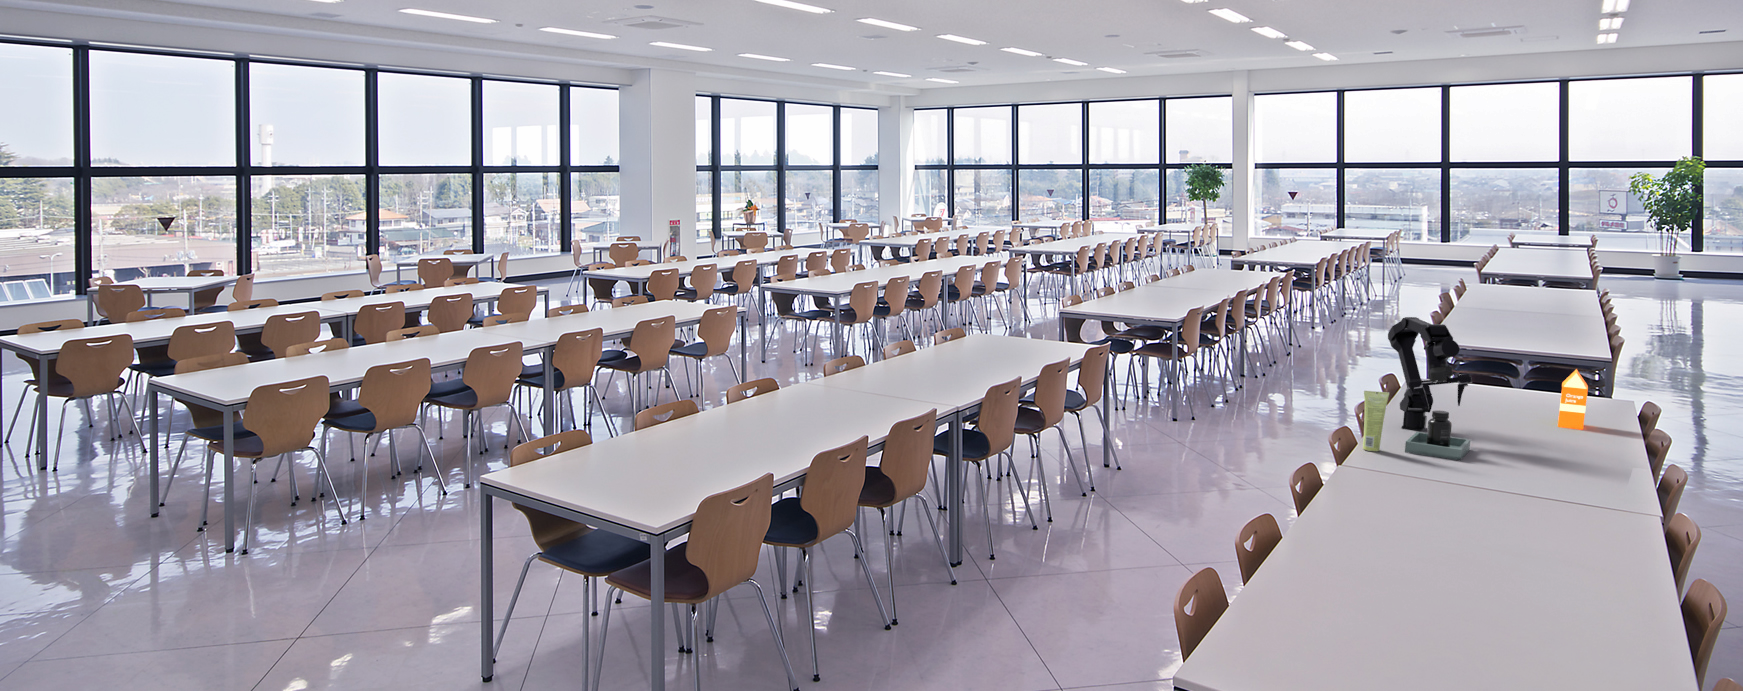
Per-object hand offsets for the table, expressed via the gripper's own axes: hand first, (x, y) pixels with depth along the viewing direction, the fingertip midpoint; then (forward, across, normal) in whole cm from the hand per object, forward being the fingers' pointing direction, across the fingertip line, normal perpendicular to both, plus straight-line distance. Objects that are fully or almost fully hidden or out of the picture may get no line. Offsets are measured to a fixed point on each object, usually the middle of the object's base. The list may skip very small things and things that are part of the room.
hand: (1443, 407), depth 362 cm
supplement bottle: (+14, -3, -12) cm, 18 cm away
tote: (+15, -3, -12) cm, 19 cm away
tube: (+13, -22, -21) cm, 33 cm away
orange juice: (+8, +37, +49) cm, 62 cm away
